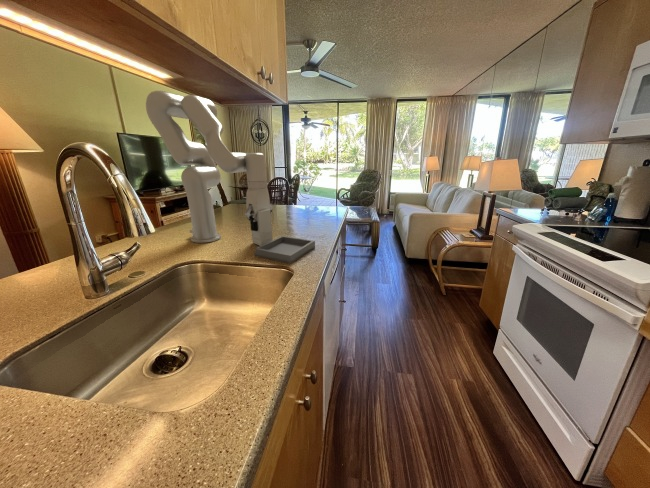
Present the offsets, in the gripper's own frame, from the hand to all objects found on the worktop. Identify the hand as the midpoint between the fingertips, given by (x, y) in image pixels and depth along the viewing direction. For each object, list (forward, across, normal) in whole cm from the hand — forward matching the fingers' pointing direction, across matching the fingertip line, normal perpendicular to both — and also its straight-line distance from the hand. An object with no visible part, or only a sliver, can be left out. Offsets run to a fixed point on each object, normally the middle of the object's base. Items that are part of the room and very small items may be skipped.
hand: (261, 227), depth 111 cm
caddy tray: (+7, +4, +15) cm, 17 cm away
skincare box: (+7, 0, 0) cm, 7 cm away
